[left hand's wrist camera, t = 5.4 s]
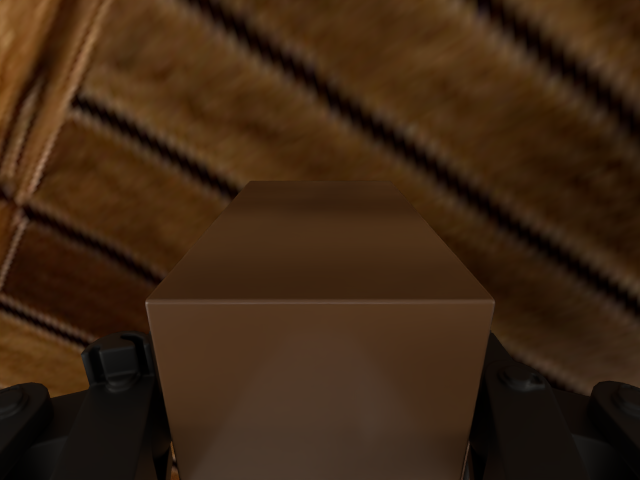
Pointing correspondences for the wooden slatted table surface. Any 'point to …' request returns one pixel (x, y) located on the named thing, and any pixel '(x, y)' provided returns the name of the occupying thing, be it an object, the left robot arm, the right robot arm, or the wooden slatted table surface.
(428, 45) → the wooden slatted table surface
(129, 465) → the left robot arm
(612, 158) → the wooden slatted table surface
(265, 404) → the bar
